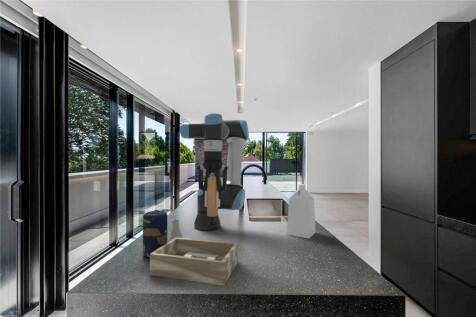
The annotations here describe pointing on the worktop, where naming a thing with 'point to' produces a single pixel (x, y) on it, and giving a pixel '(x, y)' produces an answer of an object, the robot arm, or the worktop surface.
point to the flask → (174, 231)
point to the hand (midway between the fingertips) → (212, 206)
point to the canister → (154, 231)
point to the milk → (301, 214)
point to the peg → (211, 197)
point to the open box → (195, 260)
